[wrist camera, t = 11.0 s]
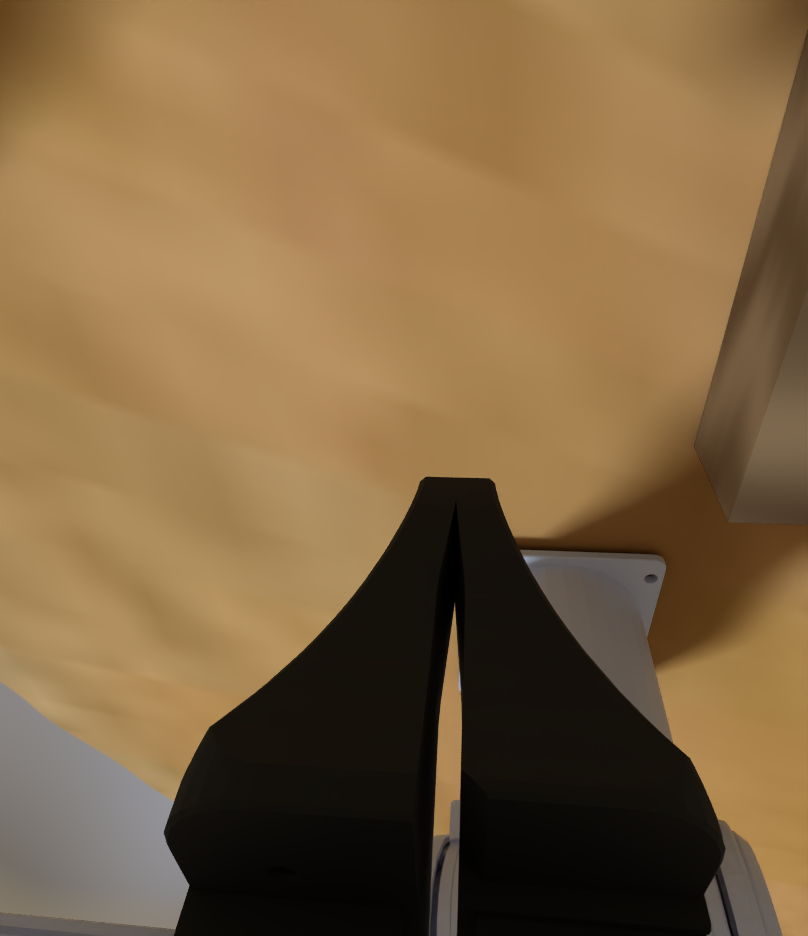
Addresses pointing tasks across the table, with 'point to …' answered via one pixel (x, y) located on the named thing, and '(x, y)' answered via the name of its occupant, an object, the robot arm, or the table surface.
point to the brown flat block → (767, 349)
